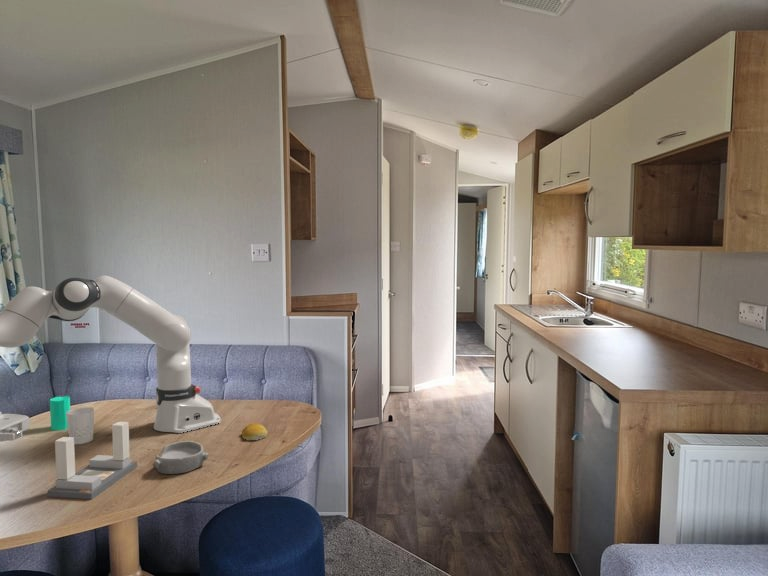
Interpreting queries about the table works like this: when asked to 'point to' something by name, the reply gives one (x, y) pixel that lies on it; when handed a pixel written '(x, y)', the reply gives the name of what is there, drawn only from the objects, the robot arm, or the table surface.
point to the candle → (59, 412)
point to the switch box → (93, 478)
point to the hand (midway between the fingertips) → (17, 435)
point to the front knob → (65, 457)
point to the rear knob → (120, 440)
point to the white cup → (80, 424)
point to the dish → (180, 457)
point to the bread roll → (254, 432)
